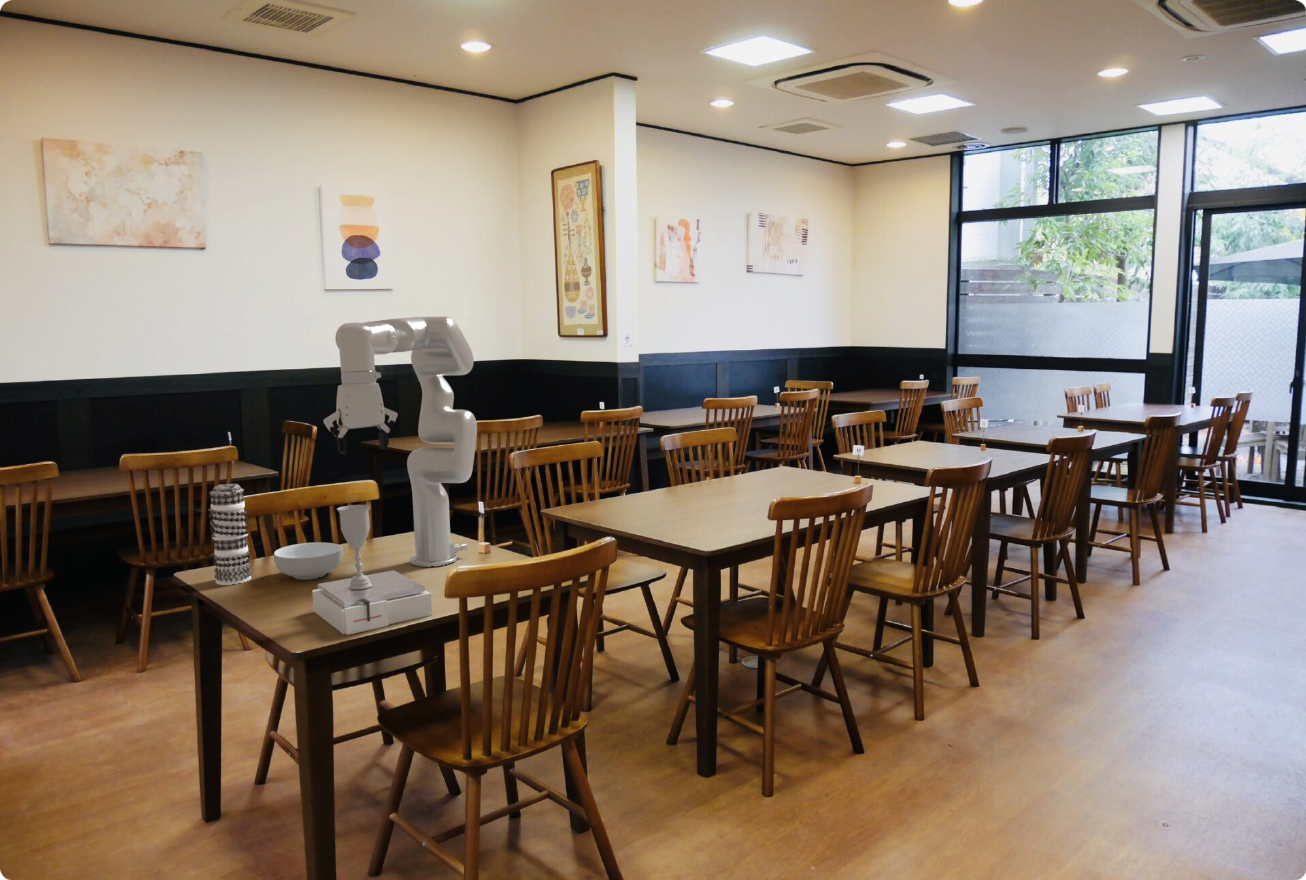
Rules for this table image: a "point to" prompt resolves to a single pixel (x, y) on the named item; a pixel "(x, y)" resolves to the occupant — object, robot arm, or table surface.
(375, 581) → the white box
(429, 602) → the base
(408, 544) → the table surface
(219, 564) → the decorative candle
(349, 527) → the chalice
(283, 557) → the cereal bowl
